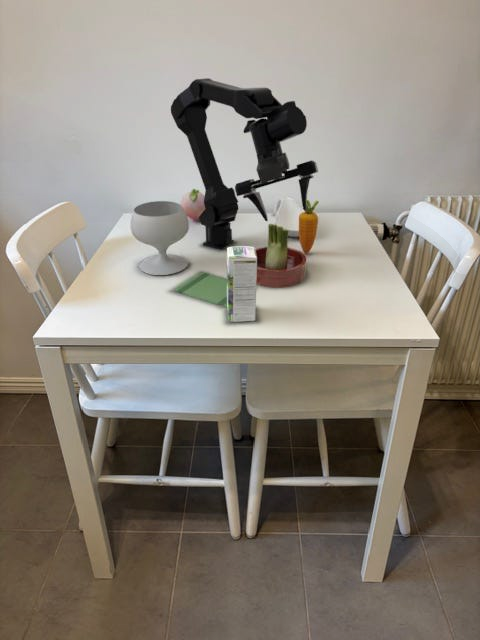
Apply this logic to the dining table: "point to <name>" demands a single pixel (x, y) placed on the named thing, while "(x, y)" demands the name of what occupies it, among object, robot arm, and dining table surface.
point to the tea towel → (206, 288)
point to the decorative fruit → (193, 204)
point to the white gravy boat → (288, 215)
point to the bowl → (281, 277)
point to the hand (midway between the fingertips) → (285, 215)
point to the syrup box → (241, 283)
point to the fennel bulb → (276, 248)
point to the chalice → (160, 234)
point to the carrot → (308, 227)
